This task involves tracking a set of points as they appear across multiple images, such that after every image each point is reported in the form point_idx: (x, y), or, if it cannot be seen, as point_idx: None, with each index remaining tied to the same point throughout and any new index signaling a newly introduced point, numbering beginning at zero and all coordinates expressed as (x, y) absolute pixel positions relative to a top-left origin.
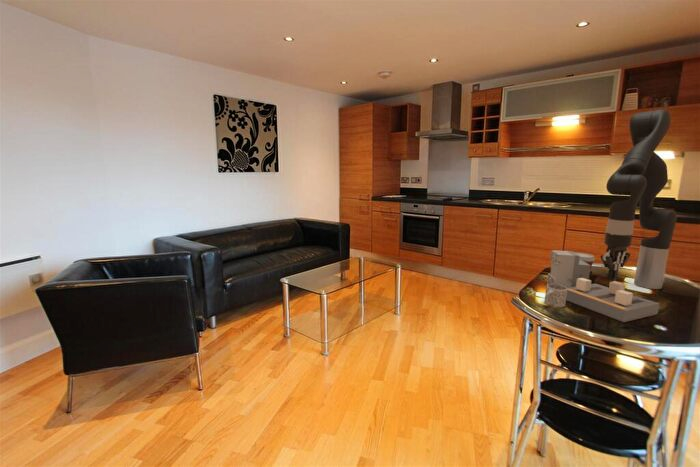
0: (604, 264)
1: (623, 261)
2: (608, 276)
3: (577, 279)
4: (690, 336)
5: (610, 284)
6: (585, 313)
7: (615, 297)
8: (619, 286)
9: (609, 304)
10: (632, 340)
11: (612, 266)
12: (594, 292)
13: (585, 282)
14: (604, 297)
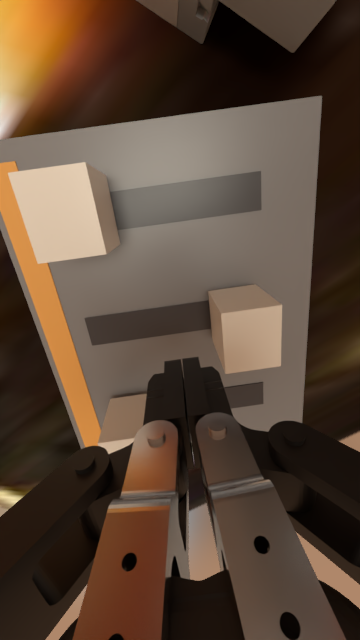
0: (26, 507)
1: (339, 562)
2: (150, 383)
3: (14, 179)
4: (199, 500)
5: (217, 314)
6: (8, 344)
7: (105, 416)
8: (223, 366)
9: (71, 405)
10: (17, 499)
11: (95, 542)
12: (139, 260)
13: (40, 259)
14: (123, 338)
